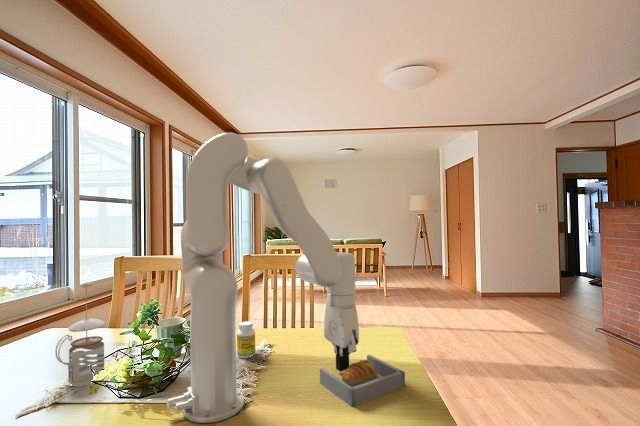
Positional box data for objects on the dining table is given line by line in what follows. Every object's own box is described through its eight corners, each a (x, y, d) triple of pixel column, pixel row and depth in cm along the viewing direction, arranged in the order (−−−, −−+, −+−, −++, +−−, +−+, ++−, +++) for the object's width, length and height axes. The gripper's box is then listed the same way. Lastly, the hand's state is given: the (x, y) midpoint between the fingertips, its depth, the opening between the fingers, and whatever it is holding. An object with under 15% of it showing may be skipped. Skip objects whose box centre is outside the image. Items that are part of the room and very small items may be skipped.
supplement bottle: (252, 350, 109) (252, 319, 109) (257, 356, 104) (257, 324, 104) (235, 353, 106) (234, 322, 107) (239, 360, 102) (239, 326, 102)
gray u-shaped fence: (351, 406, 76) (351, 390, 76) (320, 383, 87) (319, 368, 87) (405, 386, 84) (404, 372, 84) (369, 367, 95) (369, 354, 95)
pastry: (355, 390, 83) (354, 374, 83) (334, 381, 88) (334, 366, 88) (378, 377, 90) (378, 362, 90) (358, 369, 95) (357, 355, 95)
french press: (116, 375, 93) (115, 281, 94) (65, 393, 84) (64, 288, 84) (98, 366, 99) (97, 278, 99) (49, 383, 89) (48, 285, 89)
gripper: (314, 296, 97) (315, 362, 96) (346, 307, 84) (348, 384, 84) (336, 292, 101) (337, 356, 100) (370, 303, 88) (372, 376, 88)
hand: (342, 369), depth 92 cm, fingers closed
